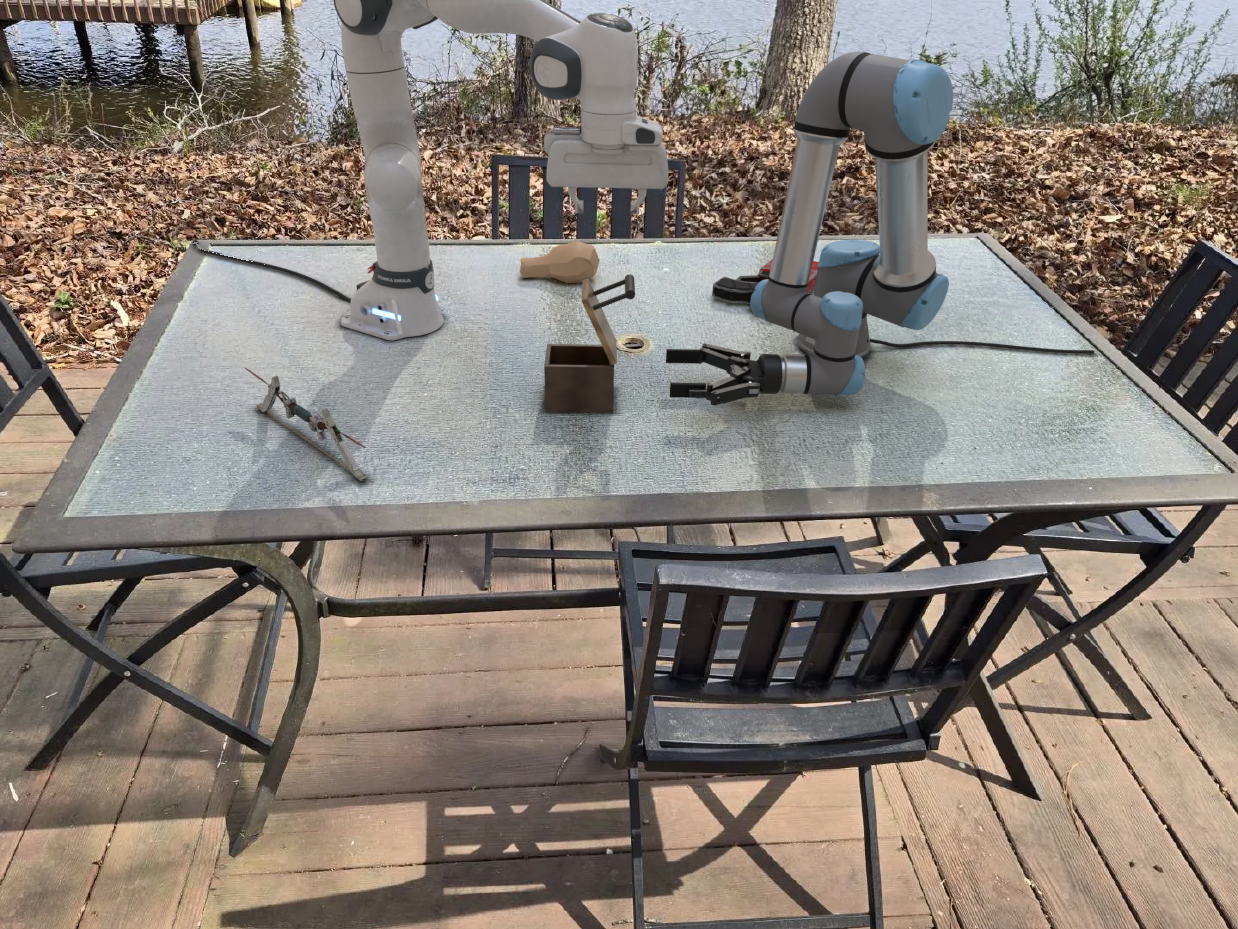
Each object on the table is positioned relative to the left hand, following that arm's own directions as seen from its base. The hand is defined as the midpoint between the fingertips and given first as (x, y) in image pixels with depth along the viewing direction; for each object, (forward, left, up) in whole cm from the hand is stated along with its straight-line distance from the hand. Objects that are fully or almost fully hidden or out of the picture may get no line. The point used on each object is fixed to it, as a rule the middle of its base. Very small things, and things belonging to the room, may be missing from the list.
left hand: (606, 212), depth 149 cm
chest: (-4, -1, -37) cm, 37 cm away
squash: (-31, +55, -37) cm, 72 cm away
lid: (-1, 0, -20) cm, 20 cm away
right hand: (+11, +4, -30) cm, 33 cm away
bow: (-44, -32, -37) cm, 65 cm away
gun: (+21, +66, -37) cm, 78 cm away
